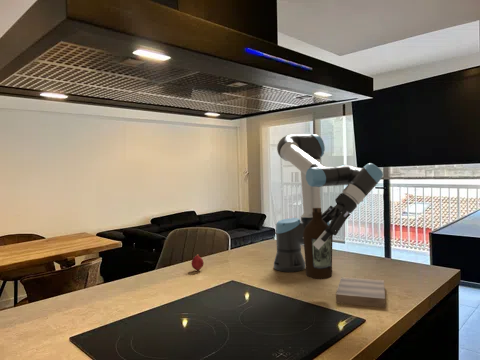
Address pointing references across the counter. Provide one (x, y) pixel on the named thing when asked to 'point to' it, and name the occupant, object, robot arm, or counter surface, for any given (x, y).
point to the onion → (197, 262)
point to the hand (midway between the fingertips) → (310, 243)
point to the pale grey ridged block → (361, 292)
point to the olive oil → (317, 259)
